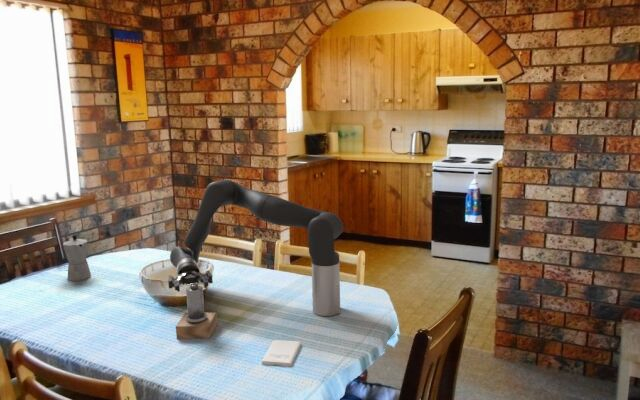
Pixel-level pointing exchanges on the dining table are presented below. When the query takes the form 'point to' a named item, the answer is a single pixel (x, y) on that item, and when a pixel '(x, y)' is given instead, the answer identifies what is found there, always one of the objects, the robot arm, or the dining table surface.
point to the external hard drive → (281, 353)
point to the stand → (196, 328)
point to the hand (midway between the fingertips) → (192, 287)
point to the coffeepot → (77, 259)
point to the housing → (195, 304)
